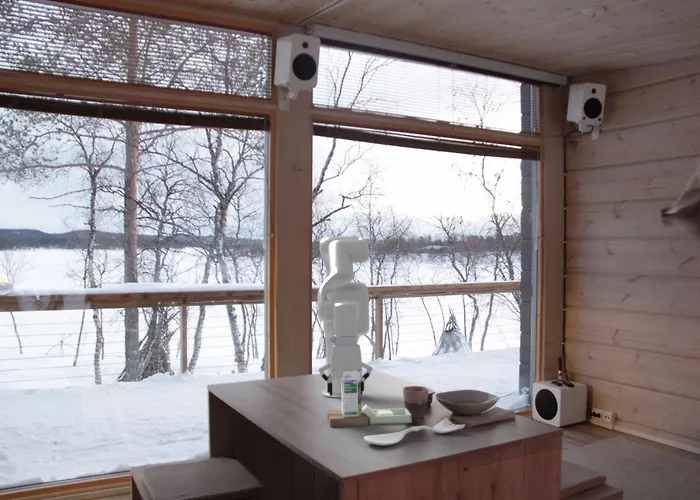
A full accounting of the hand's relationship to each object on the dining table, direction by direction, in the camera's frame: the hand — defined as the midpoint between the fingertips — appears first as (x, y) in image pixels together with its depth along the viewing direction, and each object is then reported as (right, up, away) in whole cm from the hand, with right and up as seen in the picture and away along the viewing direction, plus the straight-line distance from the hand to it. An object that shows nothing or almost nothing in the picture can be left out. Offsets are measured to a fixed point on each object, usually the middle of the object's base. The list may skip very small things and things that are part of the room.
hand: (345, 394), depth 202 cm
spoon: (+20, -9, -17) cm, 28 cm away
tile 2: (+13, -6, +2) cm, 14 cm away
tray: (+14, -9, +2) cm, 16 cm away
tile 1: (+7, -7, 0) cm, 10 cm away
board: (+1, -9, 0) cm, 9 cm away
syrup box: (+2, -7, -1) cm, 7 cm away
